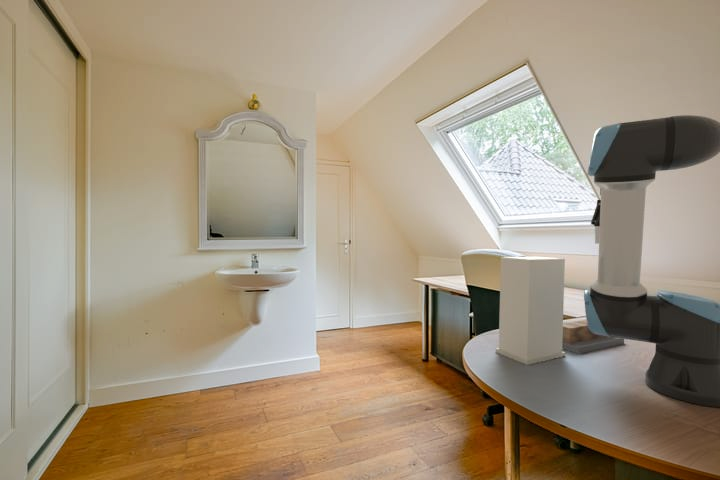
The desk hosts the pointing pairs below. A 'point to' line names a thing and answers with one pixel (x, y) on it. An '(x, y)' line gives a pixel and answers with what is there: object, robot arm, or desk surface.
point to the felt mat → (592, 344)
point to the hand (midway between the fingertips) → (611, 244)
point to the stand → (531, 308)
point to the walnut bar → (577, 332)
